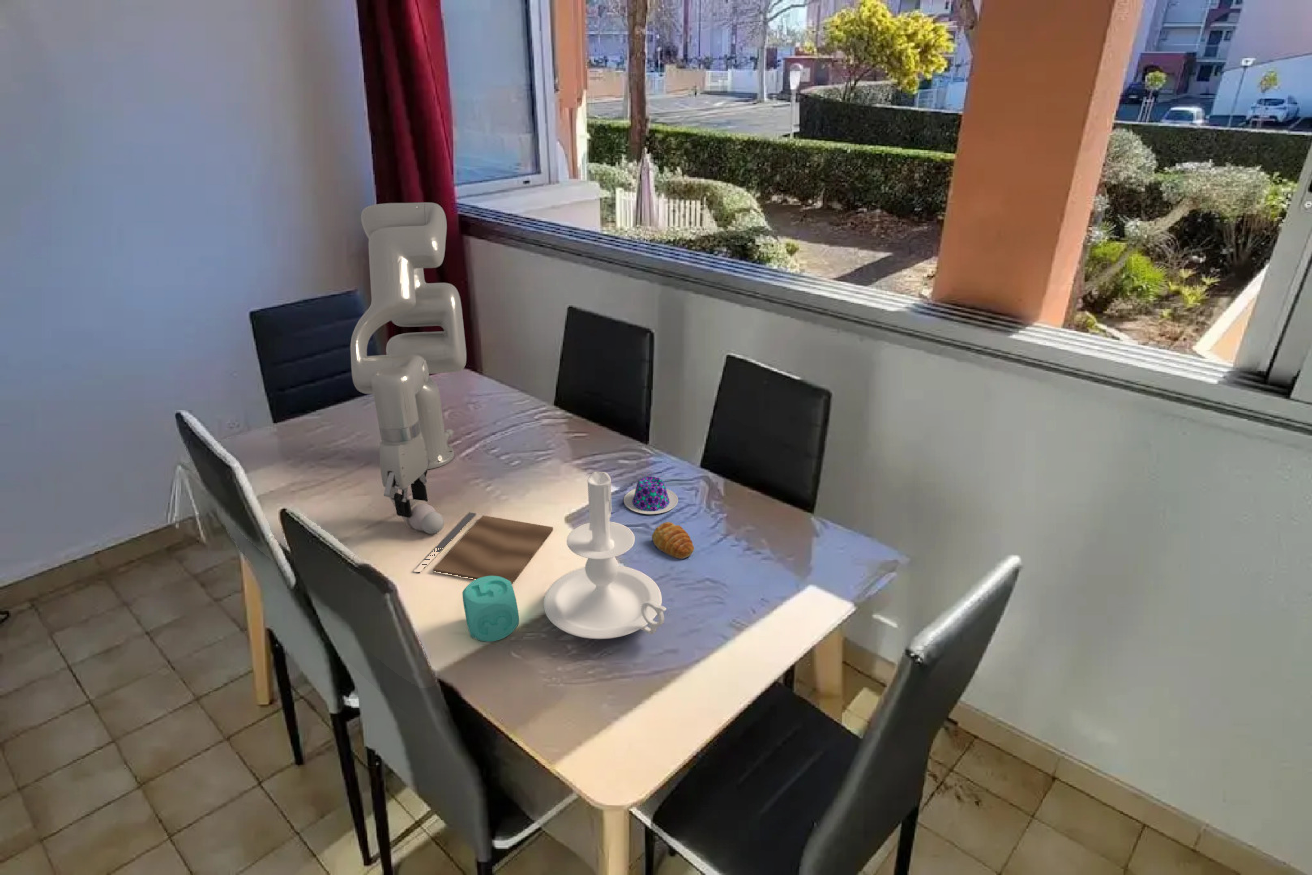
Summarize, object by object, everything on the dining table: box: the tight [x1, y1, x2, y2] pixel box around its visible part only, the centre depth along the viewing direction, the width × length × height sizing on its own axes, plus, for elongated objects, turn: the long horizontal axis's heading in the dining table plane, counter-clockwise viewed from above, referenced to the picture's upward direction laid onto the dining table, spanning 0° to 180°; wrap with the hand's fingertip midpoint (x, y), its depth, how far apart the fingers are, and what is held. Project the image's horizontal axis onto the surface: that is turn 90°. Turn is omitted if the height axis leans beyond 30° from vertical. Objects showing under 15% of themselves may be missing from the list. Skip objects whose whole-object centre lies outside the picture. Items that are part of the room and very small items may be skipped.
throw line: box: [422, 512, 477, 565], centre depth 159 cm, size 22×2×1 cm, turn 164°
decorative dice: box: [461, 576, 520, 643], centre depth 134 cm, size 8×8×8 cm
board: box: [432, 514, 554, 585], centre depth 156 cm, size 20×16×1 cm
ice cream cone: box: [389, 498, 445, 535], centre depth 163 cm, size 6×6×15 cm
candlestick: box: [543, 471, 667, 640], centre depth 131 cm, size 21×25×28 cm
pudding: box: [623, 475, 679, 515], centre depth 172 cm, size 12×12×5 cm
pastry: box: [651, 521, 695, 560], centre depth 156 cm, size 9×7×4 cm
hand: (412, 507), depth 162 cm, fingers closed on ice cream cone, 5 cm apart
